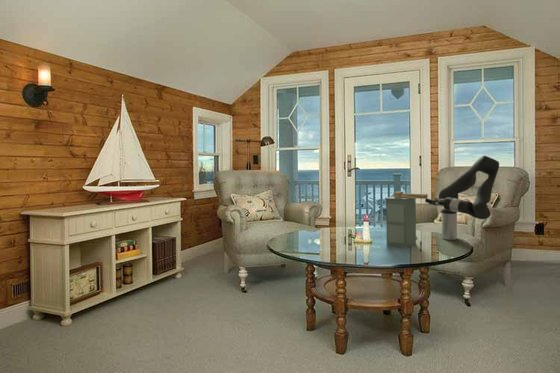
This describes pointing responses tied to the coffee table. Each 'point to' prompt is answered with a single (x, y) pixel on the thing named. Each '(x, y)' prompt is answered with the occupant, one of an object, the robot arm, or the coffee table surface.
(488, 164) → the robot arm
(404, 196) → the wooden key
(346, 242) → the coffee table surface
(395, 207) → the cabinet
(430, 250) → the coffee table surface
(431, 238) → the coffee table surface
